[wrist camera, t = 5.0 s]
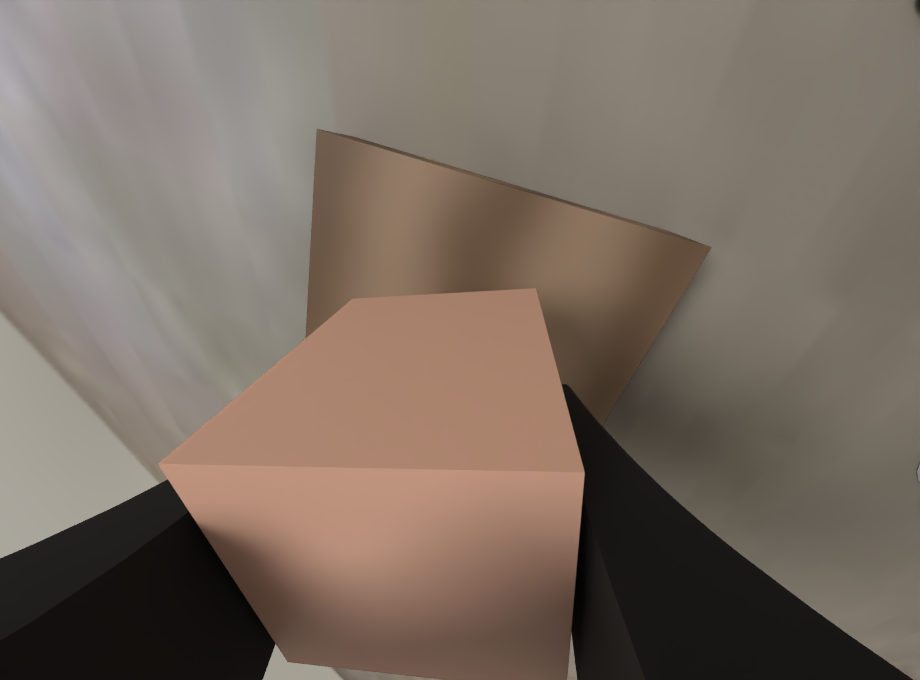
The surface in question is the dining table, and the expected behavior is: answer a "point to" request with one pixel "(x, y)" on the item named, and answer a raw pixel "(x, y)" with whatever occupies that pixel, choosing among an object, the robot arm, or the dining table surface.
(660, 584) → the robot arm
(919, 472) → the chalice
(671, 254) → the walnut base
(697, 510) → the dining table surface
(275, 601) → the terracotta block
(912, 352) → the dining table surface
